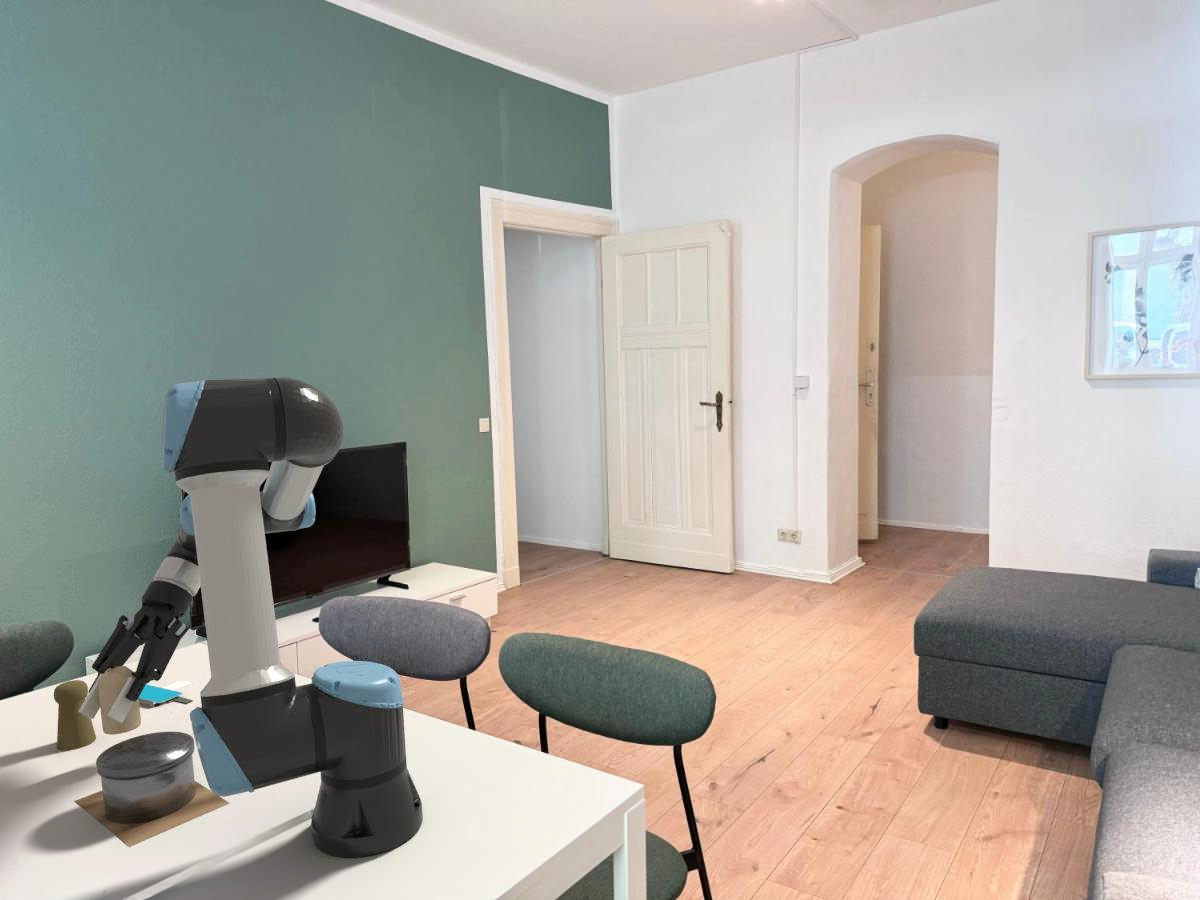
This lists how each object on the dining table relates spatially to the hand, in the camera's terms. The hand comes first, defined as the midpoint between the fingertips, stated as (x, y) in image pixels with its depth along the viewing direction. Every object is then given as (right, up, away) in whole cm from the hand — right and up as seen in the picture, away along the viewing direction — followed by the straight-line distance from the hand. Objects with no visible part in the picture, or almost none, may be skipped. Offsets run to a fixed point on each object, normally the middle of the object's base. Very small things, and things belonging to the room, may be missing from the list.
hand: (100, 716), depth 137 cm
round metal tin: (+13, -10, -9) cm, 19 cm away
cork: (-13, -10, +16) cm, 23 cm away
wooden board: (+13, -11, -9) cm, 19 cm away
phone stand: (-9, -7, +37) cm, 39 cm away
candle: (+1, -3, +4) cm, 5 cm away
